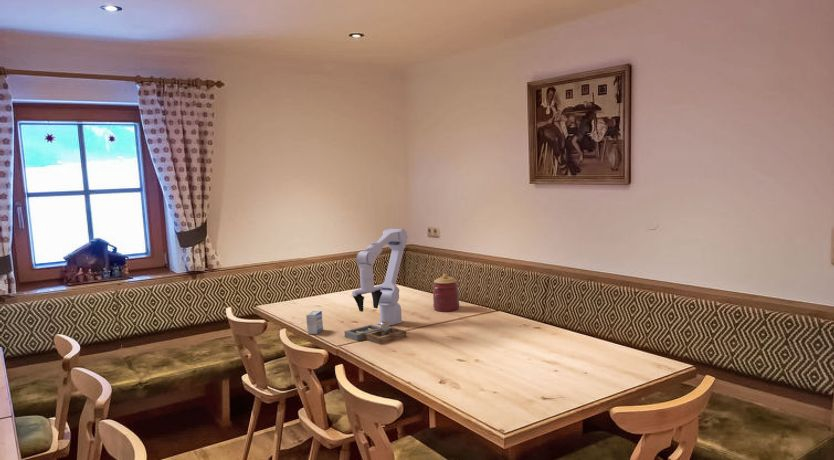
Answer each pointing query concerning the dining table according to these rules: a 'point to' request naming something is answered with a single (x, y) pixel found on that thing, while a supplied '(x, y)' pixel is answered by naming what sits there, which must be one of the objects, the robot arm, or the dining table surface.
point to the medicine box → (314, 322)
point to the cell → (385, 328)
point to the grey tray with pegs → (360, 332)
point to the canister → (445, 294)
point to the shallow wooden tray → (380, 339)
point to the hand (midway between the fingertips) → (368, 309)
